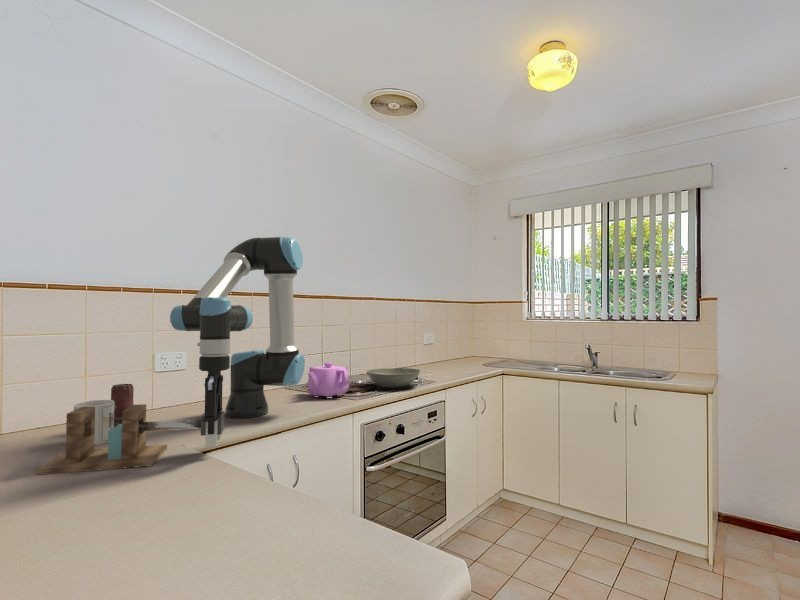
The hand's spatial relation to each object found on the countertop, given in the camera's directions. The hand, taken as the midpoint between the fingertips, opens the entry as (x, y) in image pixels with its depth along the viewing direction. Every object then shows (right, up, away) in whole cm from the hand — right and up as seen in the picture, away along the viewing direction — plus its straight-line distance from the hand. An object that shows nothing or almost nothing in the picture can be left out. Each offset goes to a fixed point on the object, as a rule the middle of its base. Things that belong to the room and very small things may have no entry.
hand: (213, 442), depth 118 cm
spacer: (-21, -1, -5) cm, 22 cm away
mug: (-39, -3, +10) cm, 41 cm away
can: (-40, -4, +25) cm, 47 cm away
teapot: (+17, -5, +81) cm, 83 cm away
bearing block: (-24, -3, -6) cm, 25 cm away
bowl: (+46, -6, +107) cm, 117 cm away
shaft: (-8, +3, -2) cm, 9 cm away
